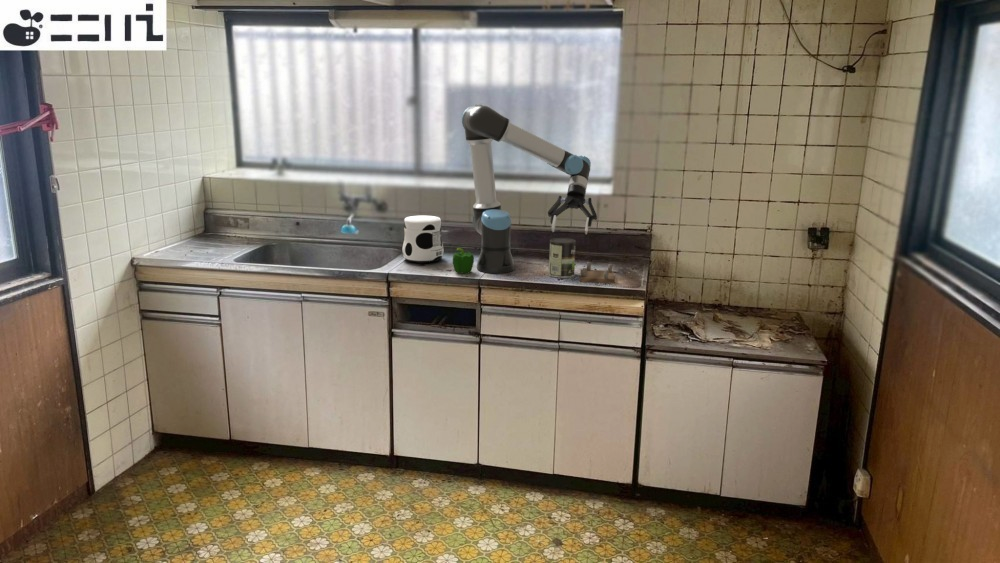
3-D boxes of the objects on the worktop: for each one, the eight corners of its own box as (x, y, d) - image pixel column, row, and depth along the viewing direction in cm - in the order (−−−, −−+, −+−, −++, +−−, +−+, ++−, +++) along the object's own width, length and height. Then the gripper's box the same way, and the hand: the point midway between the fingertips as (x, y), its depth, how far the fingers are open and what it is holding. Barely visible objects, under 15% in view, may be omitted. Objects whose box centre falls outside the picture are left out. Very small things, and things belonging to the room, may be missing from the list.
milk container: (403, 255, 309) (402, 215, 305) (443, 255, 311) (442, 214, 306) (401, 265, 293) (401, 222, 288) (444, 265, 295) (443, 222, 290)
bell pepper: (476, 270, 286) (476, 246, 284) (470, 276, 279) (470, 251, 276) (456, 269, 288) (456, 245, 286) (450, 274, 281) (449, 249, 278)
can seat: (580, 281, 273) (580, 269, 272) (580, 273, 286) (580, 261, 284) (614, 283, 272) (615, 271, 271) (613, 274, 284) (613, 263, 283)
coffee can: (575, 272, 286) (577, 238, 283) (573, 279, 277) (574, 243, 273) (550, 270, 288) (551, 236, 285) (546, 277, 279) (548, 242, 275)
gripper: (607, 196, 297) (600, 238, 287) (549, 192, 304) (540, 234, 294) (606, 185, 291) (599, 228, 281) (546, 182, 297) (537, 224, 287)
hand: (569, 231), depth 287 cm, fingers open, 13 cm apart
